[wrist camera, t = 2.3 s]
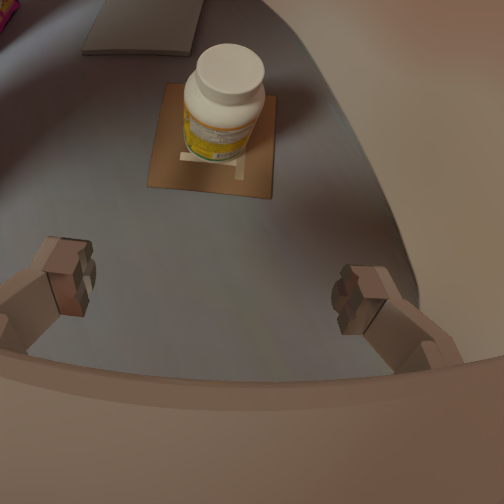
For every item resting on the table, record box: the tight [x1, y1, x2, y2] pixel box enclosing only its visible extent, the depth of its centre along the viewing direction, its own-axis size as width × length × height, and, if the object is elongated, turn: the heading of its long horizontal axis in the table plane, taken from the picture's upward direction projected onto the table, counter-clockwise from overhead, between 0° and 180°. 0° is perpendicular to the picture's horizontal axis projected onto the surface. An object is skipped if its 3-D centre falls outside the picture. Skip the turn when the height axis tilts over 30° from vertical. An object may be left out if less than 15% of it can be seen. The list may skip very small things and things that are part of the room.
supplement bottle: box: [183, 44, 265, 163], centre depth 21 cm, size 5×5×10 cm
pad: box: [81, 0, 204, 57], centre depth 25 cm, size 11×11×1 cm
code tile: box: [147, 83, 276, 199], centre depth 26 cm, size 10×10×1 cm
